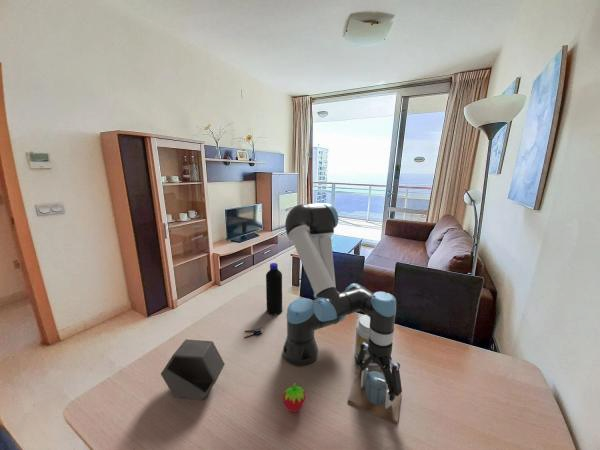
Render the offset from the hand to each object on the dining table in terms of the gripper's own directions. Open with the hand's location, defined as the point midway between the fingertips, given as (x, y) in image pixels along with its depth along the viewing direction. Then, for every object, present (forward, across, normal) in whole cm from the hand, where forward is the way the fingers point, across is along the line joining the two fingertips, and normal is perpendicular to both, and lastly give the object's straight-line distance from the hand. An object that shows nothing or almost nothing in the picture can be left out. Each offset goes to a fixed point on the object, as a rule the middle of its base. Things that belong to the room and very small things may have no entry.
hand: (375, 395), depth 84 cm
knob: (0, 0, 0) cm, 0 cm away
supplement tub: (+2, +14, -15) cm, 20 cm away
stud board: (+1, 0, 0) cm, 1 cm away
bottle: (+1, +68, -1) cm, 68 cm away
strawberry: (+1, +14, +25) cm, 29 cm away
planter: (+1, +41, +49) cm, 64 cm away
